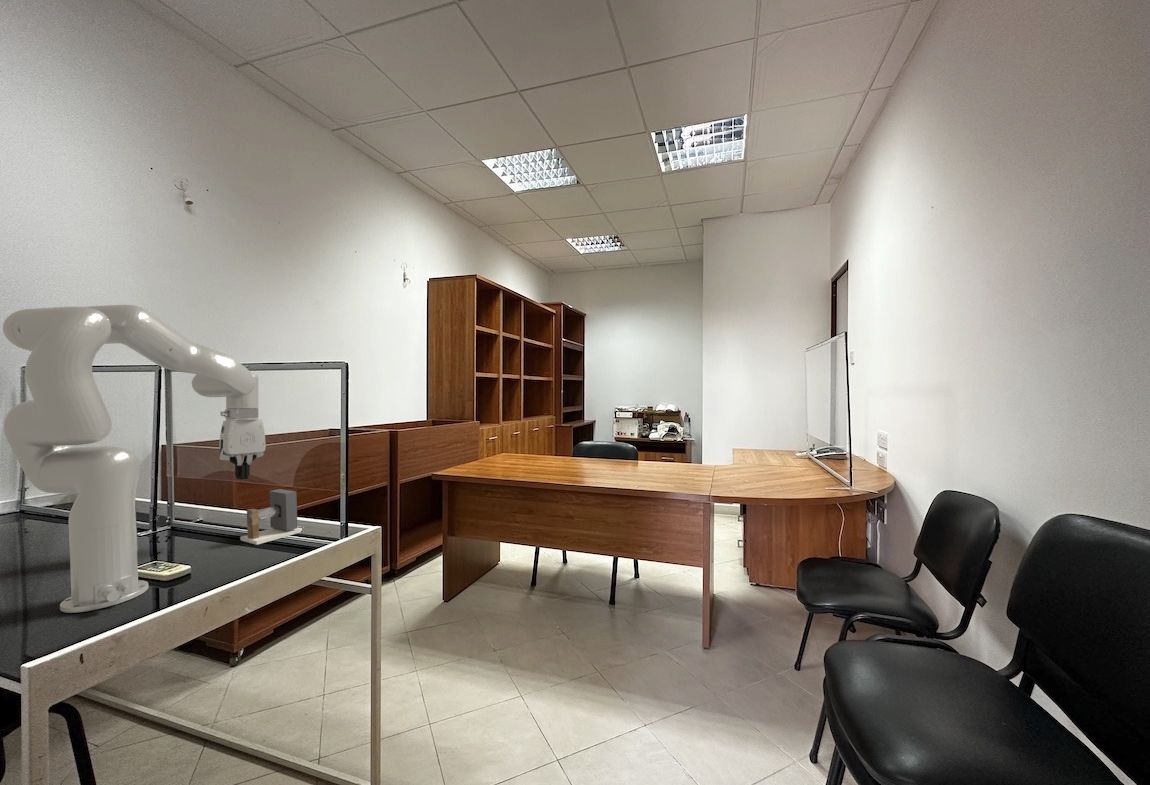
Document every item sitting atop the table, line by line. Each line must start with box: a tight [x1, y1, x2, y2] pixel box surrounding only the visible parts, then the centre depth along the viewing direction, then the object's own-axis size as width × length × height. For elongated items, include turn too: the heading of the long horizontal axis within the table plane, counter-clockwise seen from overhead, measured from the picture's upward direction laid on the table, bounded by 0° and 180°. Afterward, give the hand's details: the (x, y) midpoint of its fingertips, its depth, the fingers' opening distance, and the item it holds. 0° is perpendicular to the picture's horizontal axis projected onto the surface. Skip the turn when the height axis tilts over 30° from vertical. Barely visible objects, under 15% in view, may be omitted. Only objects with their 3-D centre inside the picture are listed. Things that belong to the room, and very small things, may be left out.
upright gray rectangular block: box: [268, 488, 299, 531], centre depth 134 cm, size 9×3×11 cm, turn 61°
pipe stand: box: [240, 505, 302, 546], centre depth 131 cm, size 9×13×9 cm
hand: (242, 478), depth 127 cm, fingers closed
